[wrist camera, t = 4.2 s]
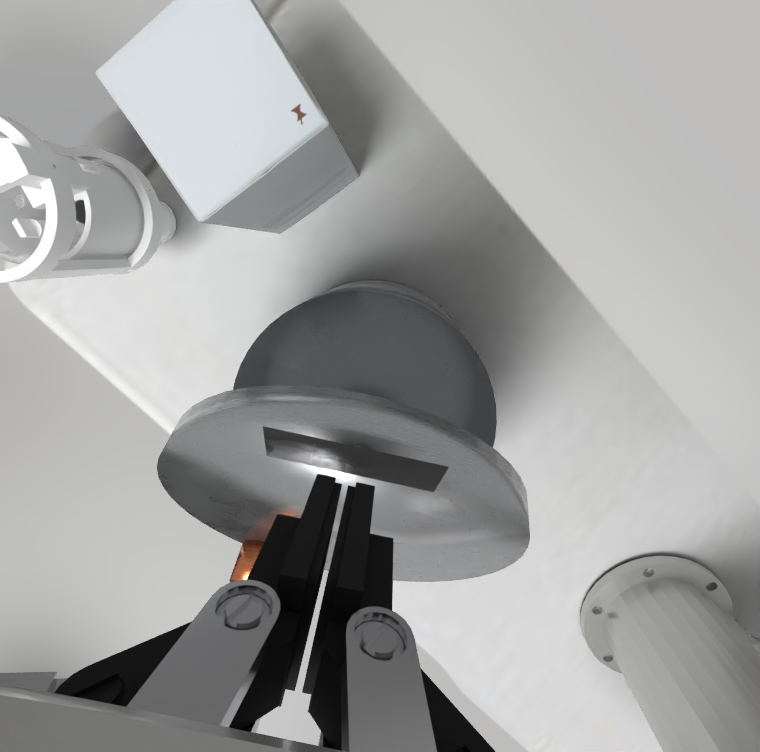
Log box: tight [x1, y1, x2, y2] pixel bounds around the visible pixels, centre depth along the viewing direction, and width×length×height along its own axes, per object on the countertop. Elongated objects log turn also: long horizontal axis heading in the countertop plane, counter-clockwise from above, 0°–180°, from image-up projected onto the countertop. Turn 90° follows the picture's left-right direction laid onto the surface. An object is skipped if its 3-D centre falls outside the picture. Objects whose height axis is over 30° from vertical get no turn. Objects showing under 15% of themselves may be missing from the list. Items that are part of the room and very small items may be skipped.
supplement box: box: [96, 0, 359, 234], centre depth 24 cm, size 7×7×13 cm
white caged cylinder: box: [0, 115, 176, 283], centre depth 24 cm, size 7×7×15 cm
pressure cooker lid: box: [157, 385, 530, 582], centre depth 19 cm, size 16×16×4 cm
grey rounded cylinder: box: [233, 280, 496, 448], centre depth 29 cm, size 15×15×10 cm
